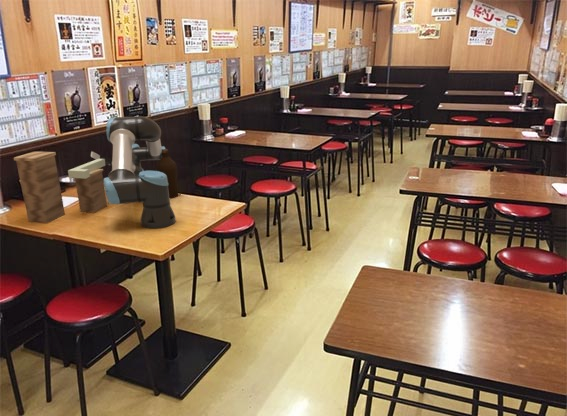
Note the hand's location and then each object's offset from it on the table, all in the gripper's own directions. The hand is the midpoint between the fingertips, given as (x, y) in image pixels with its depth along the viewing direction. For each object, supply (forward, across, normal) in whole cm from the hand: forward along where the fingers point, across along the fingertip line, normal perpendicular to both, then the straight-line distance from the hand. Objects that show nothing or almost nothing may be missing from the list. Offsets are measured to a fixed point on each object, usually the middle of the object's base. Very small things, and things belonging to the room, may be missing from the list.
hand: (103, 154), depth 232 cm
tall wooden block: (+14, +14, -36) cm, 41 cm away
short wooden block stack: (+1, 0, -28) cm, 28 cm away
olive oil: (-22, -28, -15) cm, 38 cm away
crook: (+10, -3, -12) cm, 15 cm away
